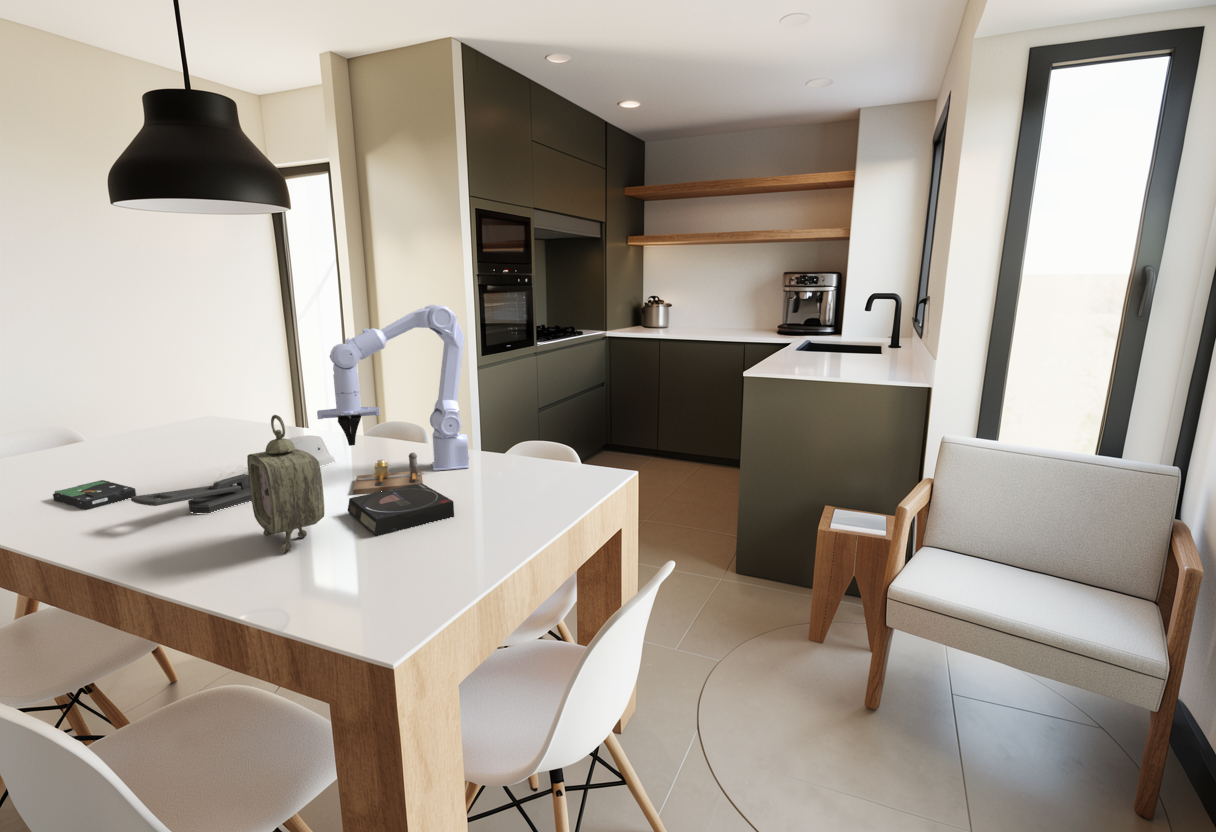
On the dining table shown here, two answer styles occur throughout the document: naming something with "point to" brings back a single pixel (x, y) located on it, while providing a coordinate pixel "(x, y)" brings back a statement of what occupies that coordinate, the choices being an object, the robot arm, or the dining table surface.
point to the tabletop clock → (285, 487)
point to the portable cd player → (400, 508)
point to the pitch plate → (389, 479)
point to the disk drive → (94, 494)
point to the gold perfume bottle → (381, 470)
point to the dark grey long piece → (204, 495)
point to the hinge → (313, 448)
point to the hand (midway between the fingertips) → (352, 444)
